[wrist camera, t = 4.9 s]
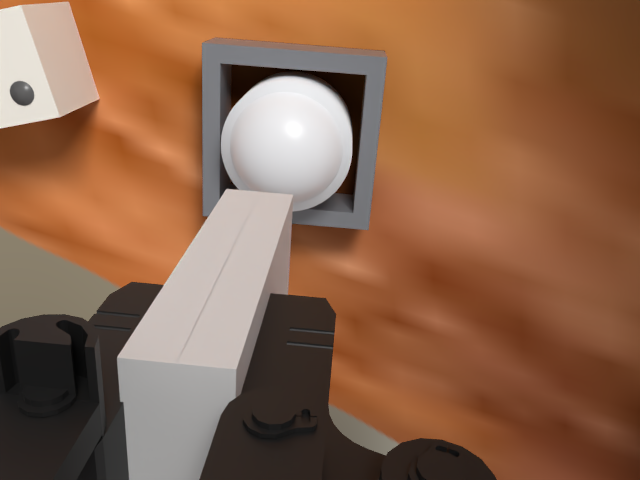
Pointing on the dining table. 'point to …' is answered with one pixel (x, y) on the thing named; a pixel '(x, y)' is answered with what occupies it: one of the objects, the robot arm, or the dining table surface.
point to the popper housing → (301, 57)
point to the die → (41, 64)
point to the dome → (289, 139)
